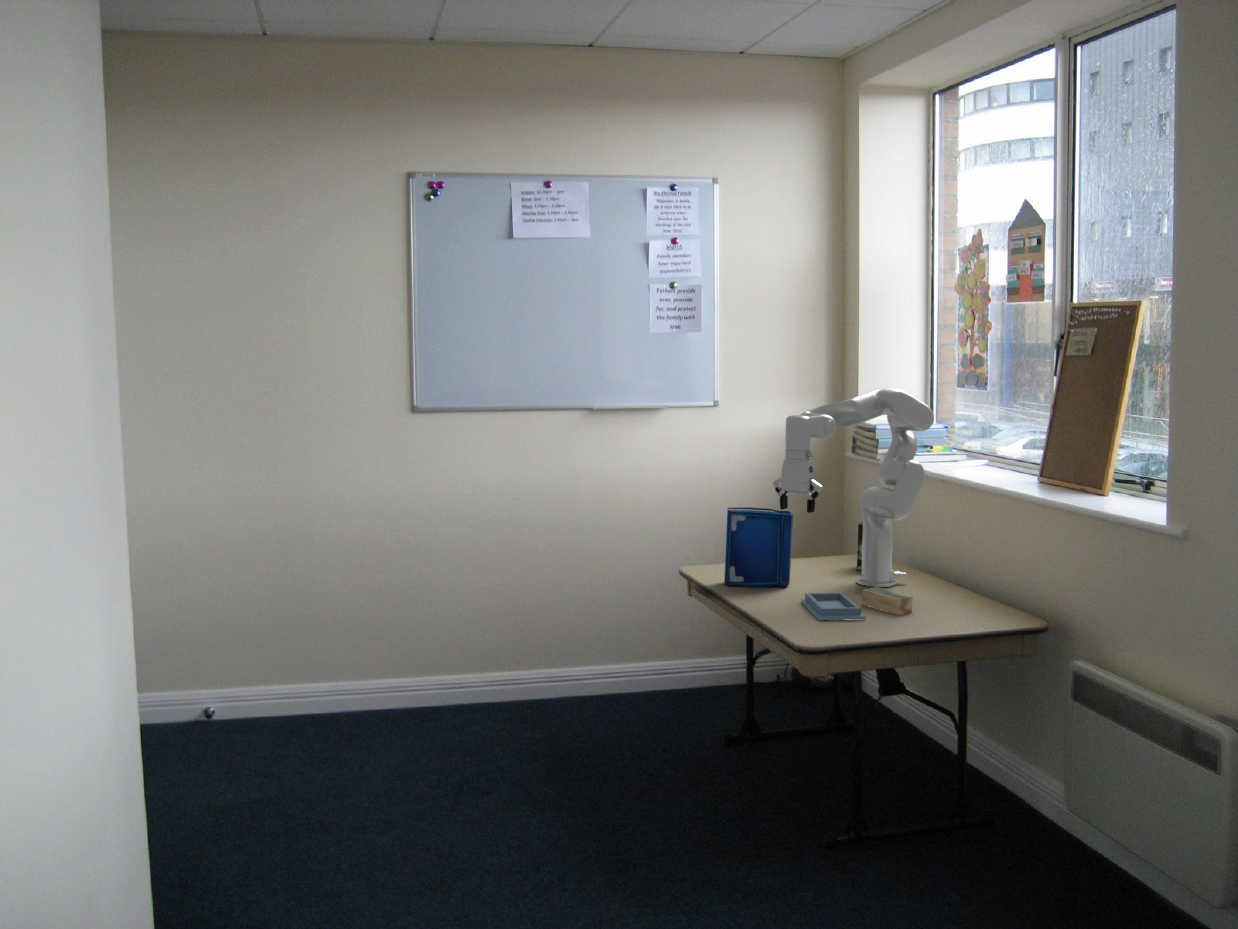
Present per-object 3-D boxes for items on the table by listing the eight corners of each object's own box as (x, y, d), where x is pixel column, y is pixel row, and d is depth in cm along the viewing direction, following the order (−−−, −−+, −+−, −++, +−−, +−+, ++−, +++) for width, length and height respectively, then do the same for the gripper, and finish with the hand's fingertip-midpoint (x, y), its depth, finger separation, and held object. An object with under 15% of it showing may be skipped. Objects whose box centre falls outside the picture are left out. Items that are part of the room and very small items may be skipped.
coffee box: (856, 570, 378) (857, 523, 376) (859, 566, 384) (860, 521, 382) (883, 572, 374) (884, 525, 373) (885, 568, 380) (887, 522, 379)
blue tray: (843, 601, 332) (843, 591, 332) (864, 620, 310) (865, 609, 310) (801, 602, 331) (801, 592, 331) (819, 621, 309) (819, 610, 309)
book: (791, 583, 357) (792, 507, 354) (792, 588, 350) (793, 511, 347) (724, 582, 359) (725, 506, 356) (724, 587, 352) (725, 510, 349)
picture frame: (876, 603, 331) (876, 586, 331) (911, 613, 320) (912, 595, 319) (862, 606, 328) (862, 589, 327) (897, 616, 316) (898, 598, 316)
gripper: (828, 456, 334) (827, 511, 336) (780, 452, 345) (780, 506, 347) (815, 458, 328) (814, 515, 330) (767, 454, 340) (766, 509, 342)
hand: (797, 510), depth 339 cm, fingers open, 9 cm apart
